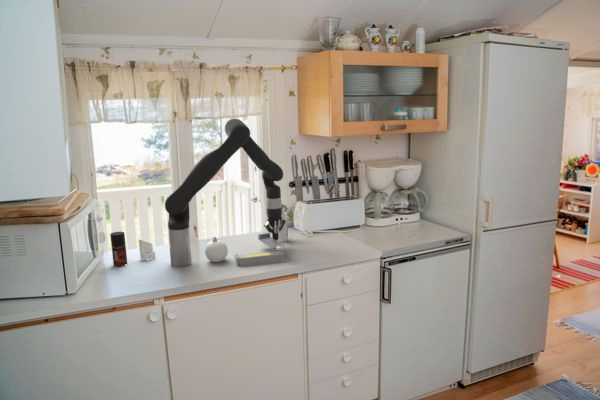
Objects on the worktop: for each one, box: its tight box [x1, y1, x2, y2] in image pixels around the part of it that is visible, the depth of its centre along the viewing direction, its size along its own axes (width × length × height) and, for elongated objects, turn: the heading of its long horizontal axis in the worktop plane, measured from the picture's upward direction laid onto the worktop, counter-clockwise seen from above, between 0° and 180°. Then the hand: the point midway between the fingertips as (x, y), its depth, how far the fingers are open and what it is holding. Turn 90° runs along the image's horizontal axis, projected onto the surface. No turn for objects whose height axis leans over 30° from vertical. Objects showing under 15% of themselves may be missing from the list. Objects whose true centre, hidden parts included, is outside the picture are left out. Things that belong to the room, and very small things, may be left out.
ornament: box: [204, 236, 229, 263], centre depth 210 cm, size 10×10×12 cm
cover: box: [257, 232, 286, 251], centre depth 219 cm, size 6×22×3 cm, turn 27°
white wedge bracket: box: [138, 238, 156, 261], centre depth 216 cm, size 4×10×9 cm, turn 138°
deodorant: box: [110, 231, 128, 267], centre depth 208 cm, size 6×6×15 cm
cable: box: [244, 253, 271, 257], centre depth 208 cm, size 12×4×3 cm, turn 106°
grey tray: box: [232, 250, 286, 267], centre depth 213 cm, size 22×16×4 cm
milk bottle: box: [276, 203, 289, 243], centre depth 240 cm, size 8×8×20 cm
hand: (275, 240), depth 228 cm, fingers closed
